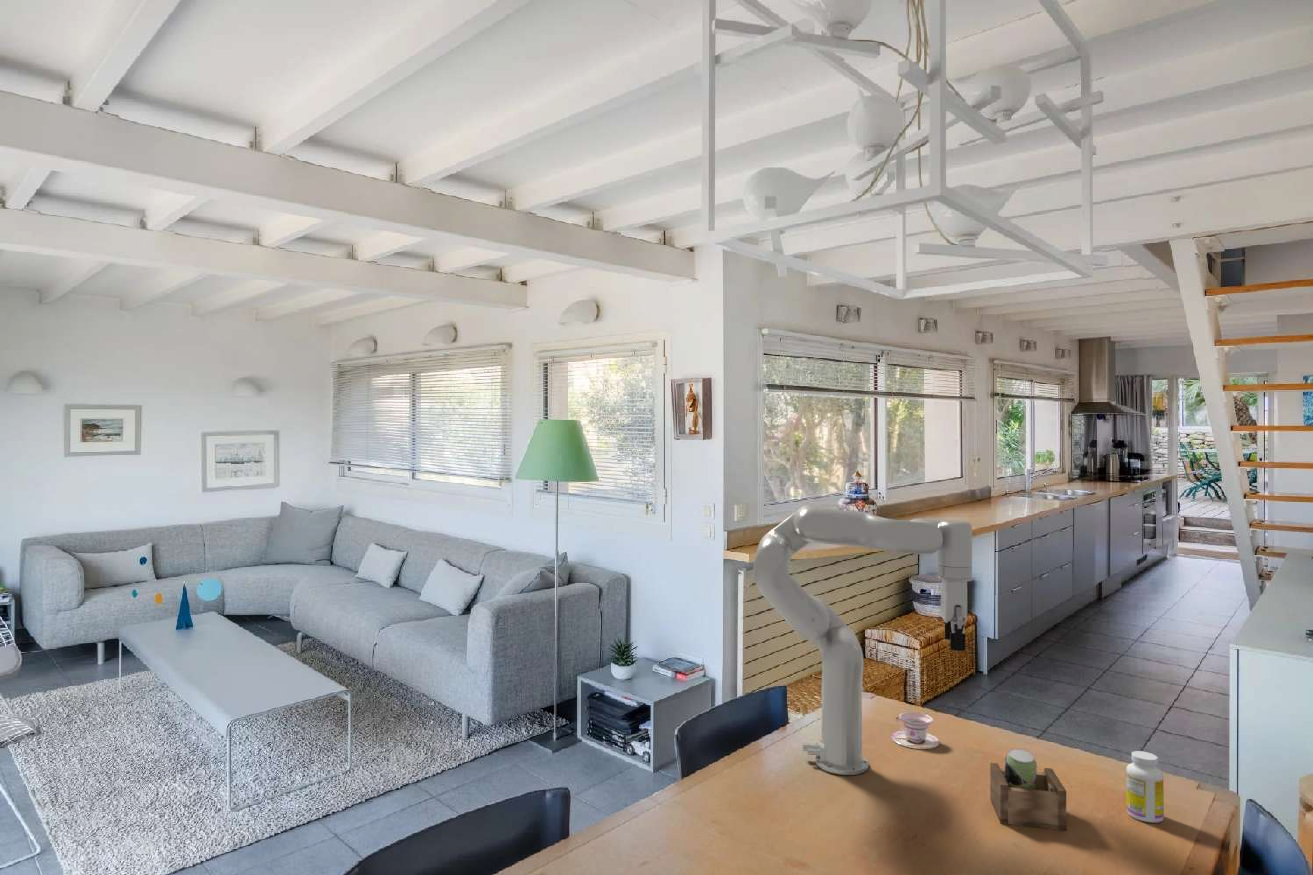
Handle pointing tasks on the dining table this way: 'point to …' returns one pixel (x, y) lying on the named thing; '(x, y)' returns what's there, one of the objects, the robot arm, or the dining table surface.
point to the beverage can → (1020, 769)
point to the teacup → (915, 730)
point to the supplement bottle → (1144, 788)
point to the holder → (1029, 800)
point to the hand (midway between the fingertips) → (954, 644)
